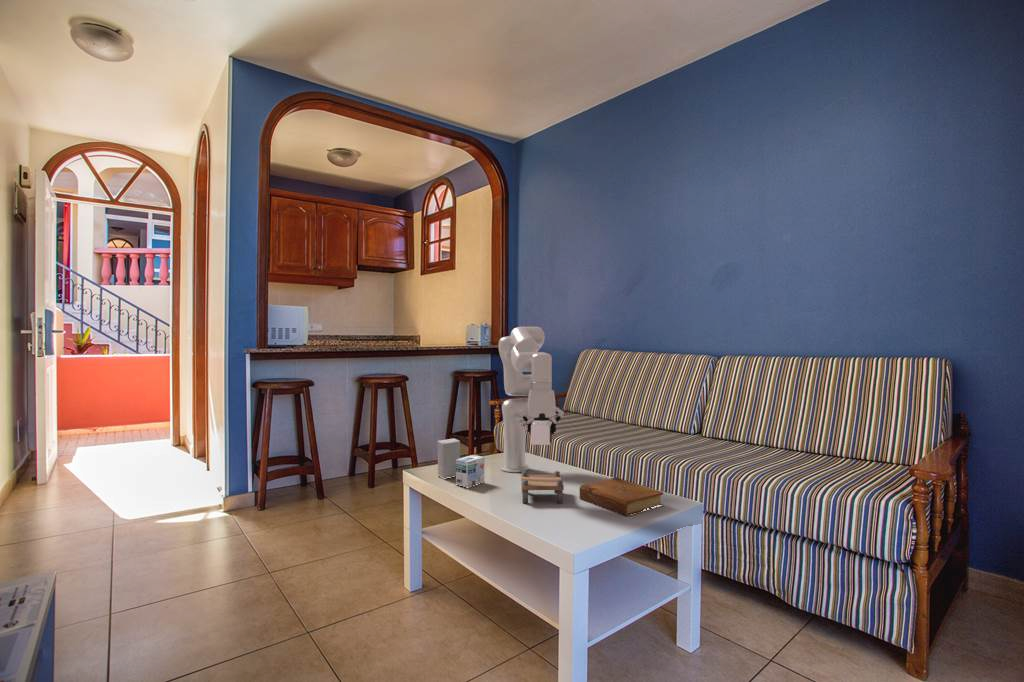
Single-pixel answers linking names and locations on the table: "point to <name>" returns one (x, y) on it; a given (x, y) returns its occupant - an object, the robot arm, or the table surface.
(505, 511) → the table surface
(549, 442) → the medicine bottle
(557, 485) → the shelf stand
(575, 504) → the table surface
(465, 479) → the light bulb box
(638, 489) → the diary
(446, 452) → the skincare box
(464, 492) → the table surface
